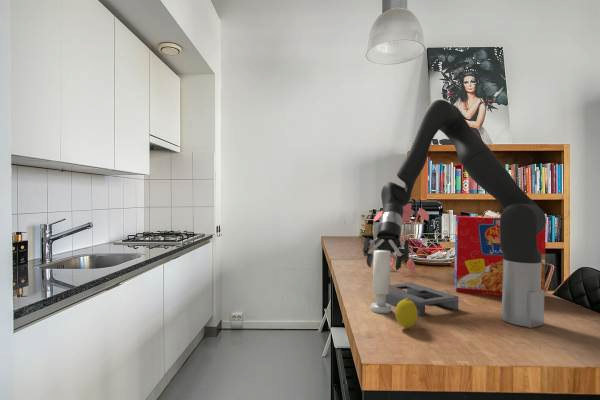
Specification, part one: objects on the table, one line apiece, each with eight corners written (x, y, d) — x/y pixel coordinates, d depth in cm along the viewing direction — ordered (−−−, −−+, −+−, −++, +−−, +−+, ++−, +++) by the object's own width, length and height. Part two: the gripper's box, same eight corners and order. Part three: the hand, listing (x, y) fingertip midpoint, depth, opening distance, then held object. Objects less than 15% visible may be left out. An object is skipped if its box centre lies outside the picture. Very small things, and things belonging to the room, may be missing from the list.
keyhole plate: (458, 309, 110) (458, 296, 110) (420, 316, 103) (420, 302, 103) (411, 293, 128) (411, 282, 128) (376, 298, 121) (376, 286, 121)
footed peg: (395, 312, 107) (396, 252, 107) (379, 314, 104) (380, 253, 104) (382, 306, 112) (383, 249, 112) (366, 308, 110) (367, 250, 109)
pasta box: (456, 292, 132) (457, 216, 132) (454, 287, 139) (455, 216, 139) (544, 300, 123) (545, 219, 123) (537, 294, 131) (538, 218, 131)
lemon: (400, 323, 97) (400, 294, 97) (420, 328, 93) (421, 298, 93) (391, 329, 93) (392, 298, 93) (412, 334, 89) (412, 302, 89)
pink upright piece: (375, 267, 177) (376, 197, 177) (429, 273, 165) (431, 198, 164) (365, 273, 164) (367, 197, 163) (424, 280, 152) (426, 198, 151)
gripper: (367, 219, 121) (358, 258, 111) (411, 221, 116) (405, 262, 105) (370, 233, 126) (362, 271, 116) (412, 236, 121) (407, 276, 110)
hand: (383, 267), depth 111 cm, fingers open, 8 cm apart
